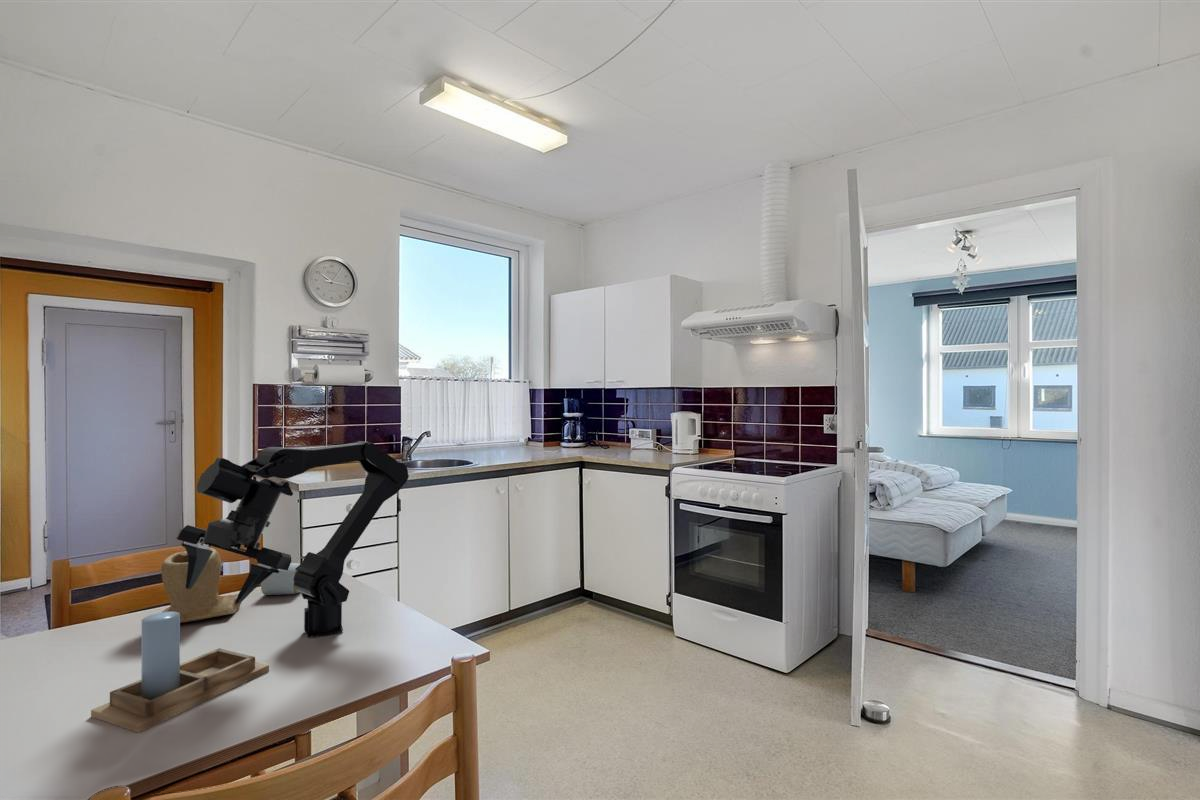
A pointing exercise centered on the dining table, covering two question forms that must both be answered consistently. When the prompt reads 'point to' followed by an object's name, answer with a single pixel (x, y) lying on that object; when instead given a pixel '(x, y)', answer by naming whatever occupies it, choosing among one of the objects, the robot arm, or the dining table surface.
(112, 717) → the wooden compartment tray
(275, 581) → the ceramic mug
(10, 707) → the dining table surface
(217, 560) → the stone cup
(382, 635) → the dining table surface
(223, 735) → the dining table surface
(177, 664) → the blue-grey round cylinder
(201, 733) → the dining table surface
